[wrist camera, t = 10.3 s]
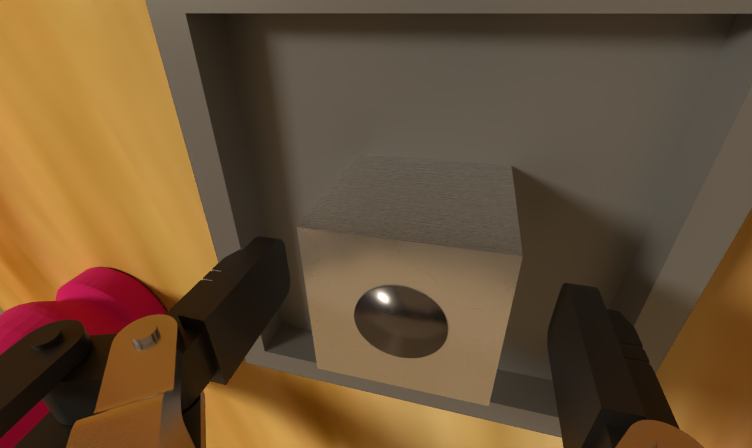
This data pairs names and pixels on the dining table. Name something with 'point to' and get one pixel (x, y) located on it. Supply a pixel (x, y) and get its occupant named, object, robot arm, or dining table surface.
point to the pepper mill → (82, 303)
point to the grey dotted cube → (413, 273)
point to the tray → (480, 146)
